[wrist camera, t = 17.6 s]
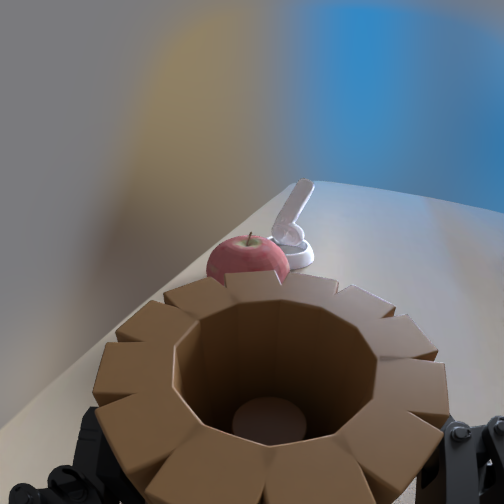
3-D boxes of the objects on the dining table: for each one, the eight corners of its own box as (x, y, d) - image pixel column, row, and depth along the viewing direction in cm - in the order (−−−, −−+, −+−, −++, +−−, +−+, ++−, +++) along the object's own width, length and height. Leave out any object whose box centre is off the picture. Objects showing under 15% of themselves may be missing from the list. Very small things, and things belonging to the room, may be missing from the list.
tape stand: (125, 540, 10) (35, 469, 6) (212, 414, 19) (199, 299, 15) (327, 610, 6) (408, 610, 2) (372, 454, 16) (429, 346, 12)
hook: (347, 211, 43) (340, 192, 36) (305, 287, 43) (291, 281, 37) (302, 190, 46) (288, 170, 40) (261, 261, 46) (241, 251, 40)
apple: (243, 282, 35) (243, 213, 32) (299, 306, 31) (307, 231, 28) (193, 311, 30) (186, 234, 27) (252, 345, 26) (253, 260, 23)
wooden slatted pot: (137, 527, 9) (27, 407, 5) (217, 407, 17) (203, 254, 13) (326, 591, 7) (443, 560, 2) (368, 445, 14) (432, 295, 10)
